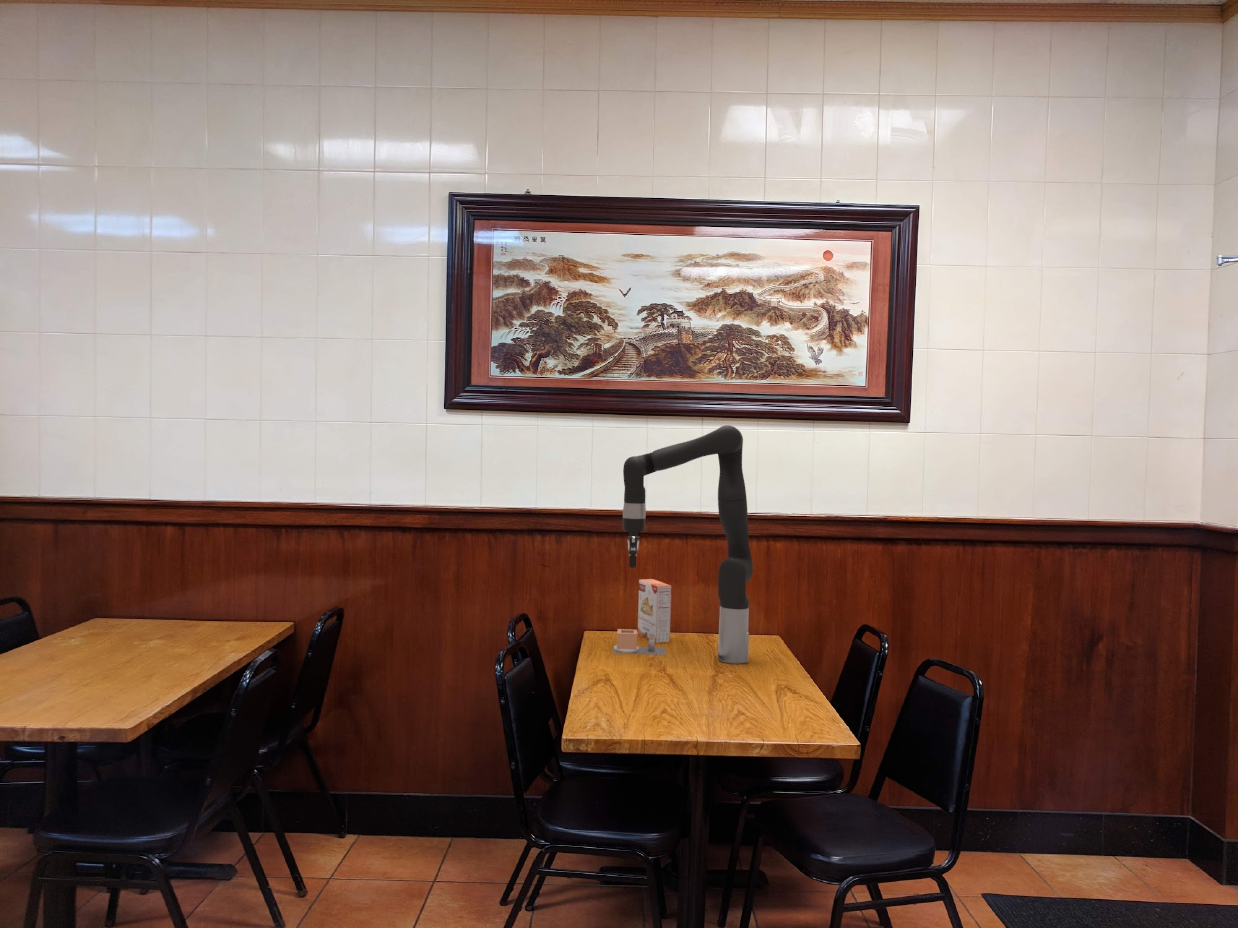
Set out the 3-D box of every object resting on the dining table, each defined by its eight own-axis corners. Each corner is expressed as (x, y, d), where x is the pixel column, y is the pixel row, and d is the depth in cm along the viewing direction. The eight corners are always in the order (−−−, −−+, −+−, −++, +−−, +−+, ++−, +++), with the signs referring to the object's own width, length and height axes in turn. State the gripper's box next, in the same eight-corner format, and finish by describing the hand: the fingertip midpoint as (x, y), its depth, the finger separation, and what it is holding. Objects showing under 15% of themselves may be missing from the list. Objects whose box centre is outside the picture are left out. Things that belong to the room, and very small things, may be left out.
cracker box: (636, 637, 288) (638, 578, 287) (651, 636, 290) (653, 578, 290) (654, 647, 275) (656, 585, 274) (670, 645, 277) (672, 584, 277)
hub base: (664, 652, 268) (665, 633, 268) (665, 659, 259) (666, 639, 259) (612, 650, 268) (613, 631, 268) (612, 657, 259) (612, 637, 259)
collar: (636, 644, 267) (637, 629, 267) (636, 649, 260) (637, 633, 260) (617, 644, 267) (617, 628, 267) (616, 648, 260) (617, 633, 260)
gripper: (645, 518, 262) (644, 569, 262) (645, 515, 276) (643, 563, 276) (622, 518, 262) (620, 568, 262) (623, 514, 276) (621, 562, 276)
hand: (632, 565), depth 269 cm, fingers open, 8 cm apart
